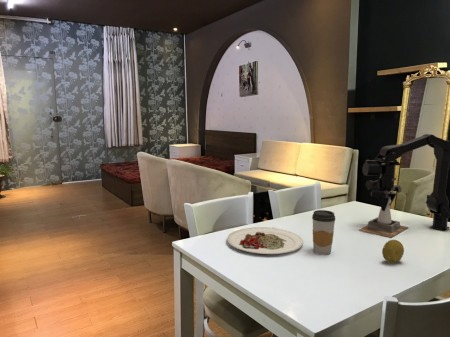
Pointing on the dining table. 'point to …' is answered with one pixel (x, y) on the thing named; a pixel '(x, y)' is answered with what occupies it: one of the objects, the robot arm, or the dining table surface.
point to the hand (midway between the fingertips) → (385, 209)
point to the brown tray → (383, 228)
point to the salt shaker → (385, 215)
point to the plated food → (265, 240)
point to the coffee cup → (323, 231)
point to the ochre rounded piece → (393, 251)
